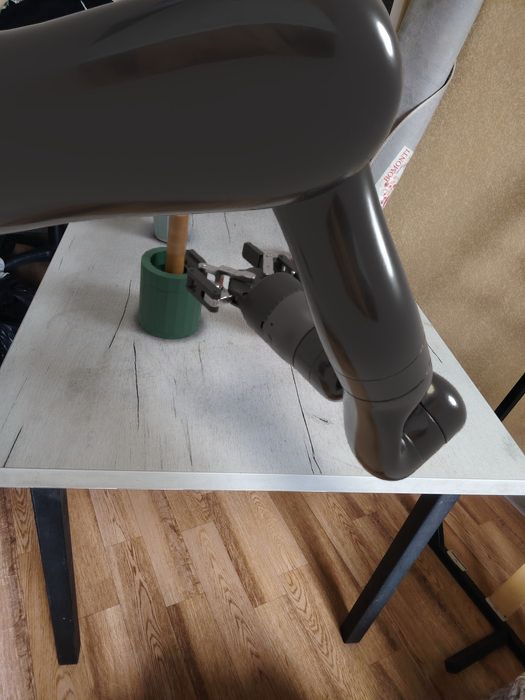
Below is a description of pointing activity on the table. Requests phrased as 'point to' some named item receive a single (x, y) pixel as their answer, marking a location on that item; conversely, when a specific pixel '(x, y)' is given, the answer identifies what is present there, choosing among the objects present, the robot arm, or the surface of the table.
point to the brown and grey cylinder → (176, 243)
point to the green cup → (166, 299)
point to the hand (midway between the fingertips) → (217, 252)
